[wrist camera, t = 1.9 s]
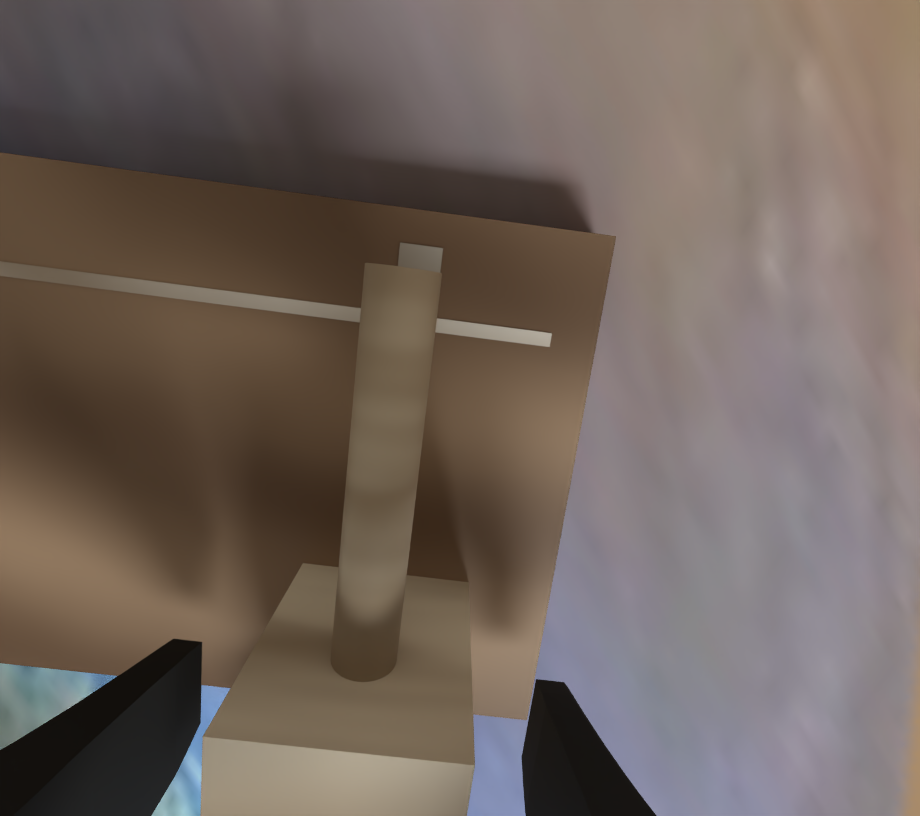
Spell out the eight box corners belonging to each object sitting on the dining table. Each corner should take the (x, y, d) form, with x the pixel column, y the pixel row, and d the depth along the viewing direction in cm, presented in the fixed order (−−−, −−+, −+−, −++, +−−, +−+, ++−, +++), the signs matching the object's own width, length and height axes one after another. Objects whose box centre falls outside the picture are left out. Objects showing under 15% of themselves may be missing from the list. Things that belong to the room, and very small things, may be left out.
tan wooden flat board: (520, 678, 15) (526, 721, 13) (-351, 581, 14) (-447, 615, 13) (597, 243, 12) (616, 236, 11) (-461, 99, 12) (-597, 70, 10)
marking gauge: (462, 719, 15) (464, 1012, 9) (286, 700, 15) (165, 985, 9) (527, 290, 12) (594, 288, 6) (316, 262, 12) (172, 232, 6)
